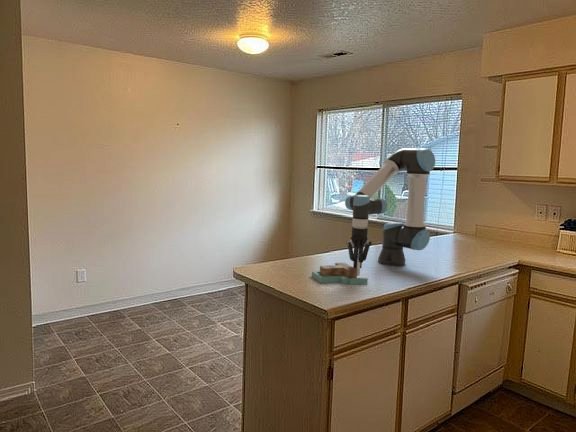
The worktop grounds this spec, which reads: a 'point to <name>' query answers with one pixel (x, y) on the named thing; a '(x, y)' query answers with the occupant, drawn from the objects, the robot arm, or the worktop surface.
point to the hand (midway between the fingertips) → (356, 274)
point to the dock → (338, 279)
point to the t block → (338, 270)
